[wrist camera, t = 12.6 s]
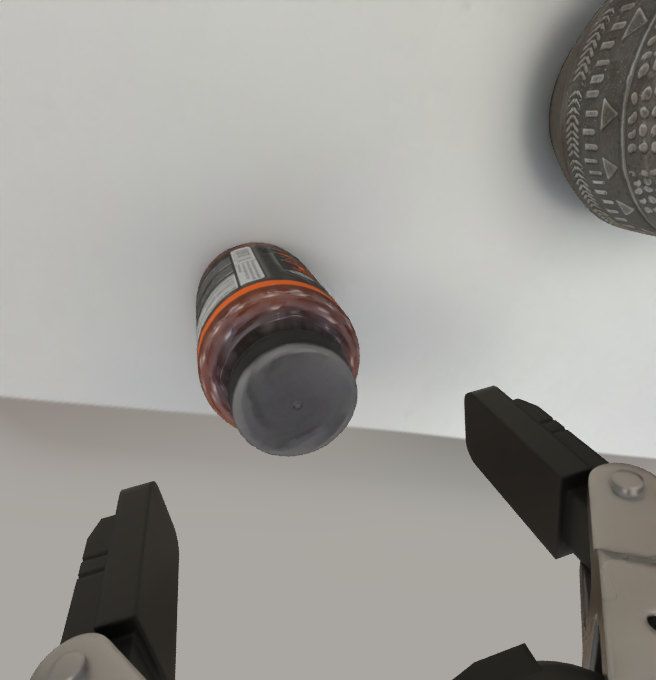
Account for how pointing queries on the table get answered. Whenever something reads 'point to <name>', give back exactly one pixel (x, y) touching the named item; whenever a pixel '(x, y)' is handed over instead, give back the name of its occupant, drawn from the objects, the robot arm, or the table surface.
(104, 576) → the robot arm
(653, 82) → the planter
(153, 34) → the table surface
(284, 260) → the supplement bottle
